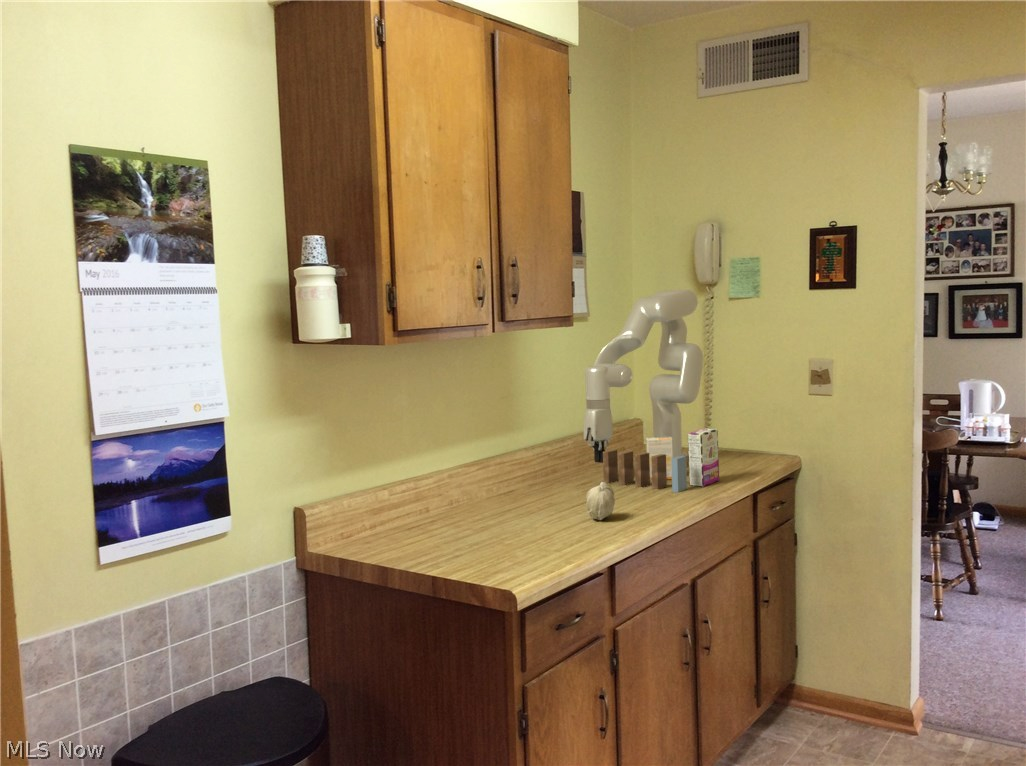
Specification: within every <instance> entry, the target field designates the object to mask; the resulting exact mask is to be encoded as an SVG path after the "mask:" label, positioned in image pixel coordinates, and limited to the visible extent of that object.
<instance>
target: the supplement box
mask: <svg viewBox="0 0 1026 766" xmlns="http://www.w3.org/2000/svg"><path fill="white" fill-rule="evenodd" d="M645 442H646V443H645V445H646V453H649V460H650V479H652V461H651V456H655V455H658V454H666V472H667V480H672V462H671V458H673V439H672V438H671V437H646V438H645Z"/></svg>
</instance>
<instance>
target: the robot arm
mask: <svg viewBox="0 0 1026 766" xmlns="http://www.w3.org/2000/svg"><path fill="white" fill-rule="evenodd" d="M698 301H699V300H698V297H697V295H696V293H695V292H694V291H692V290H691V289H668V290H667V289H665V290H659V291H656V292H655V293H654V294H653V295H651V296H642V297H640V298H638V299H637V300H636V301H635V303H634V304H633V306H632V308H631V310H630V312H629V313H628V314H629V315H628V317H627V318H626V320H625V323H624V324H623V326H622V329H621V331H620V332H619V334H617V335H616V336H615V337H614V338H612V340H610V341H609V342H608V343H607V344H606V345H605V346H604V347H603V348H602V349H601V350H600V352H599V353H598V355H597V357H596V358H595V361H594V363H593V365H592V366H591V365H590V366H588V367H586V368H585V372H584V373H585V375H584V376H585V400H586V401H585V402H586V403H585V405H586V410H585V411H584V417H583V440H584V441H585V442H587V445H588V446H591V447H592V450H593V451H594V452H593V453H594V454H593V455H594V460H593V461H594V462H595V463H600V464H601V463H602V464H603V452H604V451H606V450H607V445H608V443H610V442H611V441H612V438H613V435H614V434H613V433H614V425H613V416H612V410H611V393H610V392H611V388H624V387H627V386H628V385H630V383H632V380H633V377H634V376H633V371H632V369H631V367H629V366H628V365H626V364H623V363H616V362H617V361H618V360H619V359H620V358H622V357H624V356H625V355H627V354H628V353H631V352H634V351H636V350H637V349H639V348H641V347H643V345H645V342H646V340H647V338H648V336H649V334H650V331H651V330H652V328H653V326H654V324H655V323H660V325H661V337H660V343H659V349H658V357H657V363H658V365H659V367H660V369H662V370H664V371H671V372H679V374H671V373H669V374H667V373H665V374H662V373H661V374H658V375H655V376H654V377H652V379H650V382H649V387H648V392H649V398H650V403H651V406H652V409H651V410H652V431H653V432H652V436H653V437H671V438H672V439H673V458H674V457H678V456H686V458H687V457H689V453H688V451H687V452H686V451H683V448H682V447H683V446H682V445H683V443H682V437H683V436H682V412H681V410H680V408H679V406H678V404H686V405H687V404H691V403H693V402H695V400H696V399H697V397H698V396H699V392H700V387H701V381H702V374H703V367H704V354H703V351H702V348H701V347H700V346H699V345H697V344H696V343H692V342H687V338H688V337H687V334H688V328H687V324H686V322H685V320H684V318H685V317H688V316H690V315H692V314H693V313H695V311H696V310H697V308H698ZM687 466H688V463H687V462H686V467H687Z"/></svg>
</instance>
